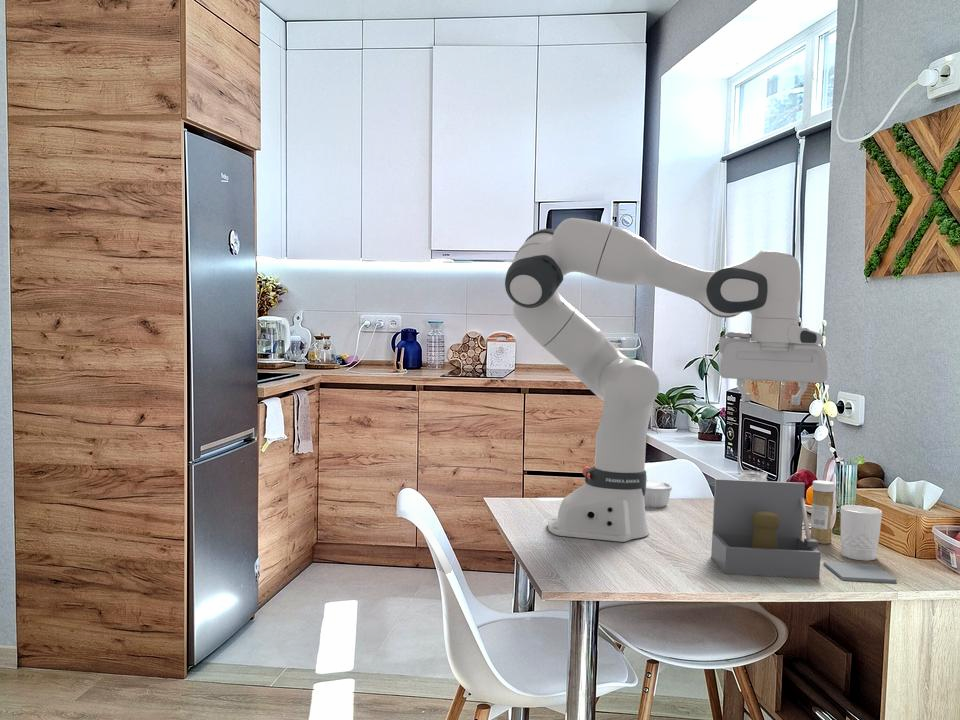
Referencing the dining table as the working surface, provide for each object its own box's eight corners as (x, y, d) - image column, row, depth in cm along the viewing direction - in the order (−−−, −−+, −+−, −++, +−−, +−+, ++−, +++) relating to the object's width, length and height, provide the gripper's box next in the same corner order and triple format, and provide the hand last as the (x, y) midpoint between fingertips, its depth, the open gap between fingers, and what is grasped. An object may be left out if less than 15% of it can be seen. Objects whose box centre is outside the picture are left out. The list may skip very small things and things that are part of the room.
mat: (842, 580, 159) (842, 576, 159) (823, 564, 169) (823, 561, 169) (896, 582, 159) (896, 579, 159) (874, 567, 169) (874, 564, 169)
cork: (775, 573, 162) (778, 517, 161) (743, 568, 165) (746, 512, 164) (782, 566, 167) (785, 511, 166) (751, 561, 170) (754, 506, 169)
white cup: (863, 551, 181) (866, 504, 181) (887, 561, 173) (890, 513, 173) (830, 551, 180) (832, 504, 179) (852, 562, 172) (855, 513, 172)
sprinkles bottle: (835, 542, 187) (839, 482, 187) (823, 545, 185) (826, 484, 184) (817, 538, 191) (820, 479, 190) (804, 540, 188) (808, 480, 188)
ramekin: (675, 509, 216) (676, 489, 216) (631, 508, 216) (632, 487, 215) (665, 500, 227) (666, 480, 227) (623, 498, 227) (624, 479, 227)
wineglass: (743, 525, 200) (746, 475, 200) (731, 518, 207) (733, 470, 207) (770, 525, 201) (773, 475, 201) (757, 518, 208) (759, 470, 208)
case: (724, 573, 160) (729, 490, 160) (711, 556, 172) (715, 478, 171) (822, 578, 160) (827, 494, 159) (802, 561, 171) (806, 482, 170)
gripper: (720, 331, 166) (717, 402, 166) (831, 335, 162) (827, 407, 162) (718, 331, 172) (714, 399, 173) (825, 335, 168) (821, 405, 168)
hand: (770, 403), depth 167 cm, fingers open, 8 cm apart
